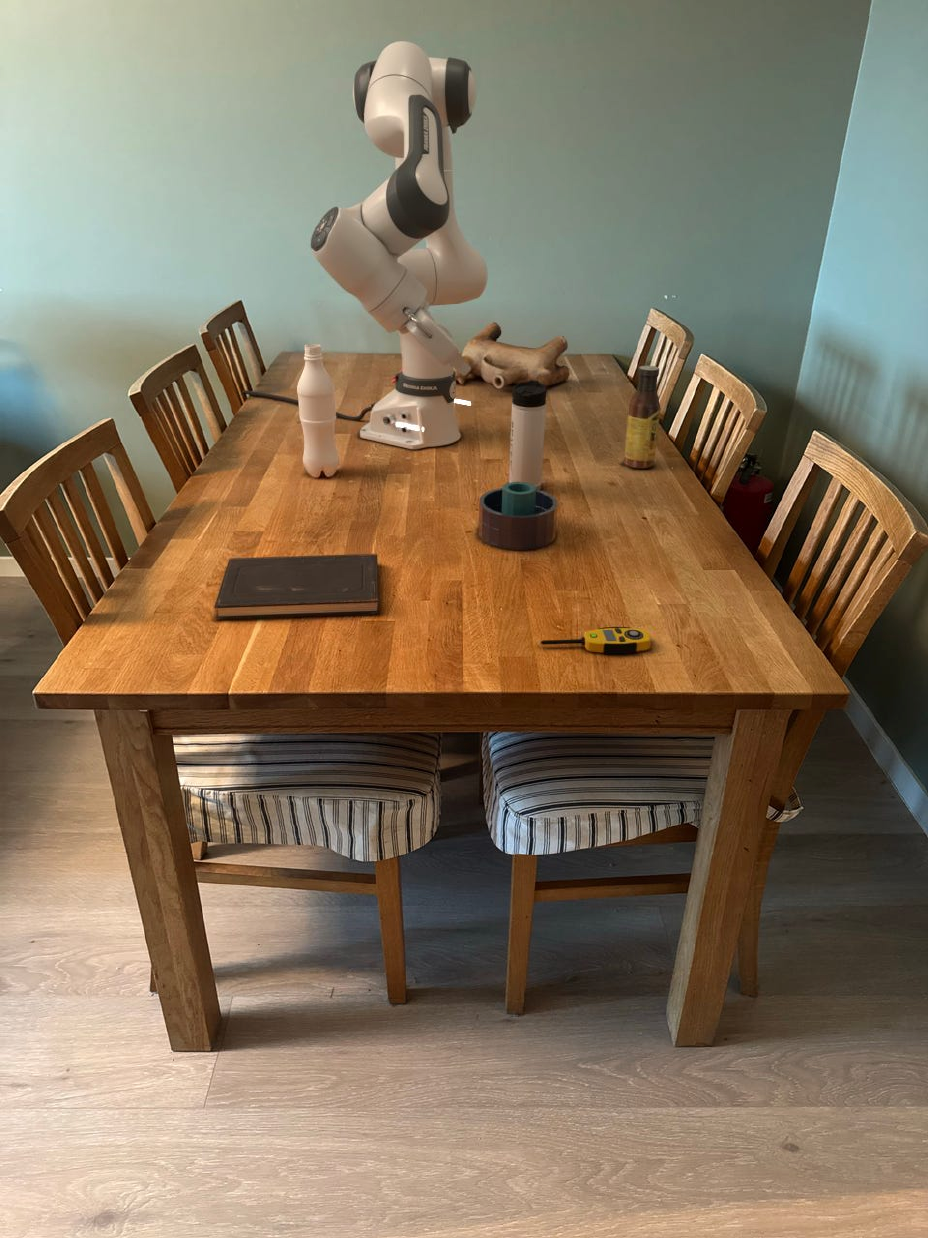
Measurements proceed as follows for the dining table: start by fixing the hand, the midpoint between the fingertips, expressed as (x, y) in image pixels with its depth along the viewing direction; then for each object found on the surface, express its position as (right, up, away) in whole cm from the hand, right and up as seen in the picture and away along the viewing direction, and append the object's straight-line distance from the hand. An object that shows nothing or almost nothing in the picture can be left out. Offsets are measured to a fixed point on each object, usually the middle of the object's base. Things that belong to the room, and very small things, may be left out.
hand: (460, 364), depth 143 cm
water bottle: (-28, -13, +33) cm, 45 cm away
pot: (+10, -27, +8) cm, 30 cm away
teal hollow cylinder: (+10, -26, +8) cm, 29 cm away
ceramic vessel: (+11, +22, +92) cm, 95 cm away
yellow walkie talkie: (+18, -45, -23) cm, 54 cm away
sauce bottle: (+37, -10, +39) cm, 54 cm away
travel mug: (+12, -16, +27) cm, 34 cm away
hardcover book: (-24, -37, -10) cm, 46 cm away
